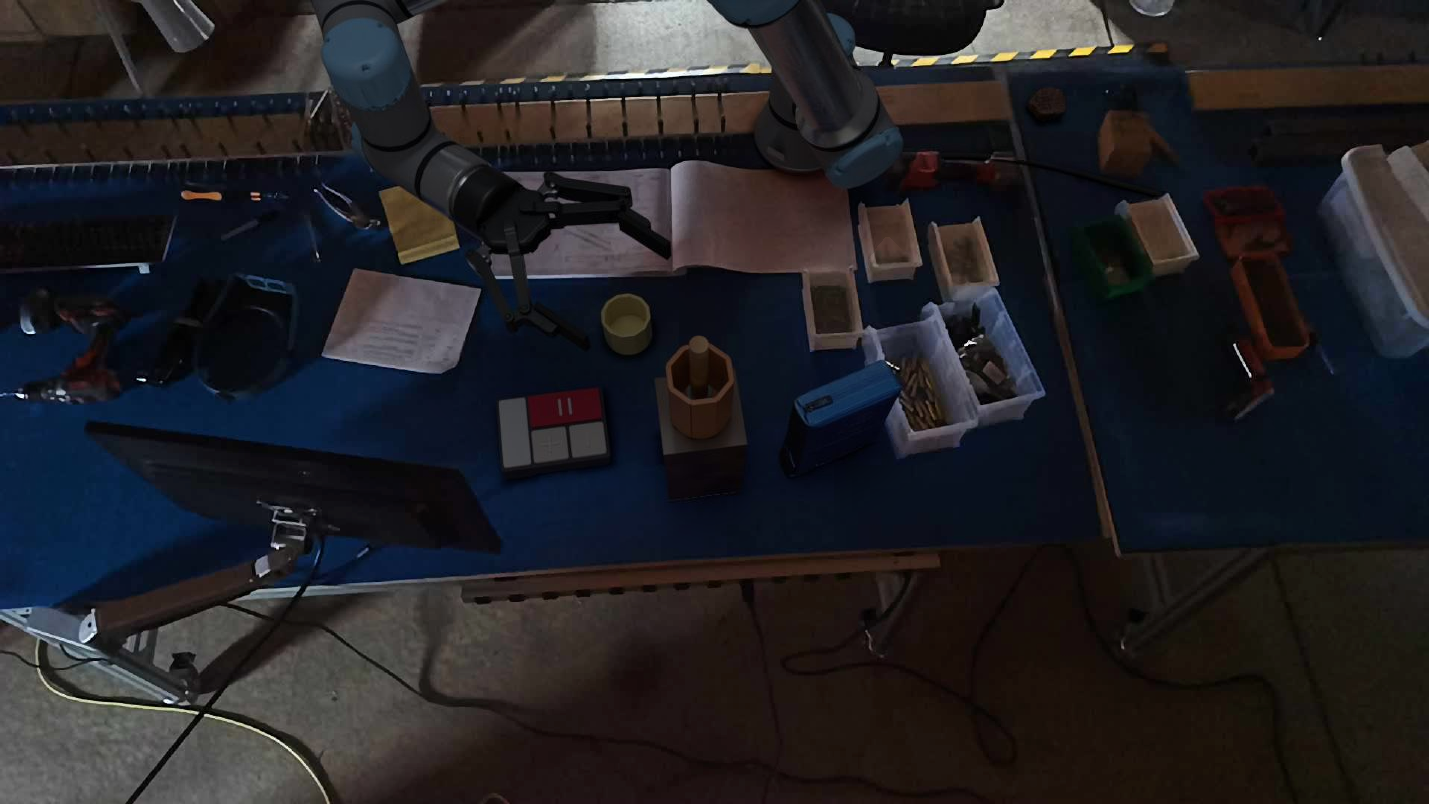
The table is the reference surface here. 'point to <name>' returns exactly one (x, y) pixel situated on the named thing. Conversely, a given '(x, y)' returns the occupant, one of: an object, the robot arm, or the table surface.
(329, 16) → the robot arm
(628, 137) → the table surface
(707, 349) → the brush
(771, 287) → the table surface
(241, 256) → the table surface
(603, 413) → the button panel
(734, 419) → the stand
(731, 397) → the octagonal pencil cup
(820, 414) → the book
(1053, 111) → the stone
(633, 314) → the rinse cup
